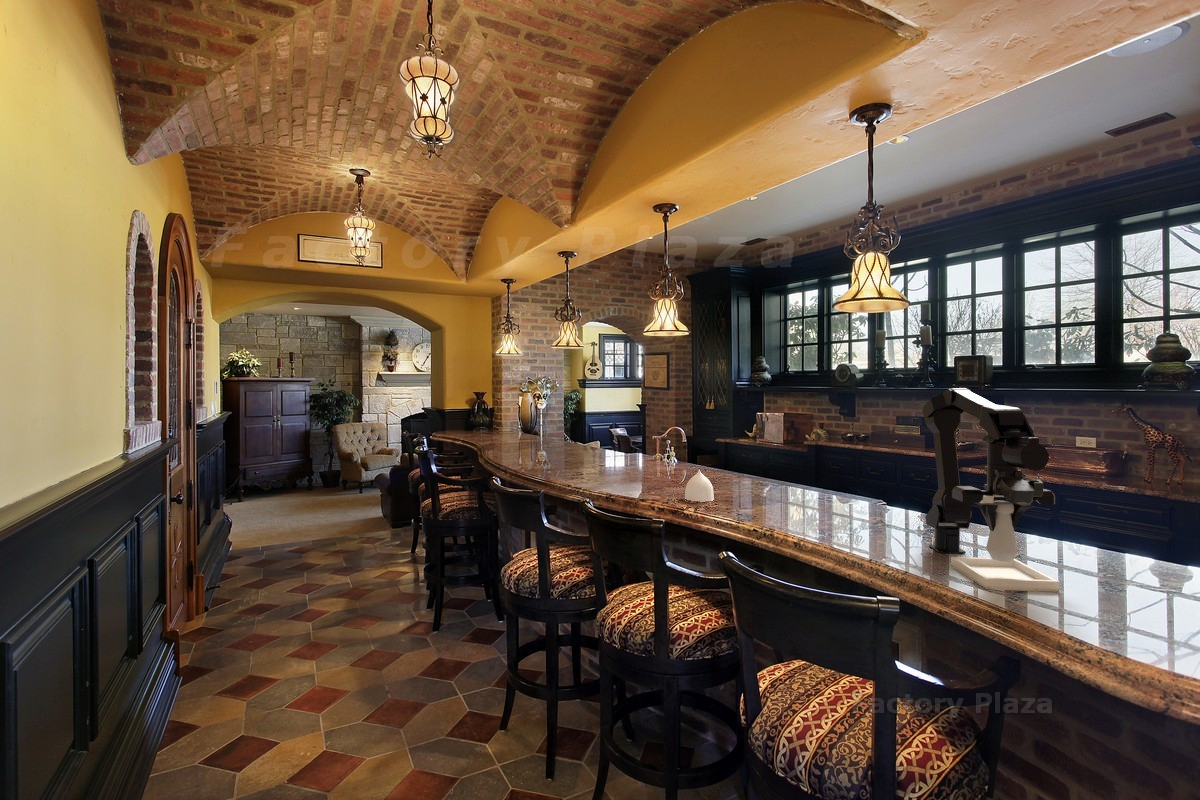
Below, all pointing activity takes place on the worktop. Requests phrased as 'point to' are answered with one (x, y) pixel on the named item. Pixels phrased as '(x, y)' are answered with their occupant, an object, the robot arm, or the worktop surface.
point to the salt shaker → (1002, 534)
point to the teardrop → (699, 489)
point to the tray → (1004, 574)
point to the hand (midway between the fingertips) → (1001, 533)
